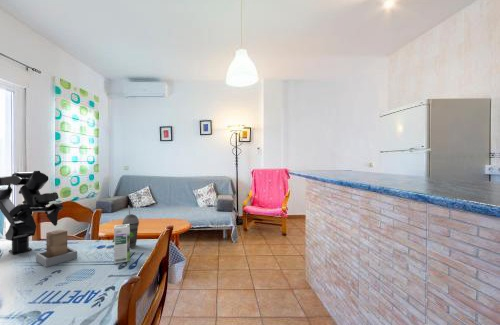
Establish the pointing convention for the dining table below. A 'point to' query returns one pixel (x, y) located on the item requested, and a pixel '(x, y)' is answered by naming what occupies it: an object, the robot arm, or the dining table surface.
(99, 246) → the dining table surface
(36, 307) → the dining table surface
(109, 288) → the dining table surface
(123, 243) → the syrup box
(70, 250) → the bin
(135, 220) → the beverage cup
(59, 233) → the handle block
